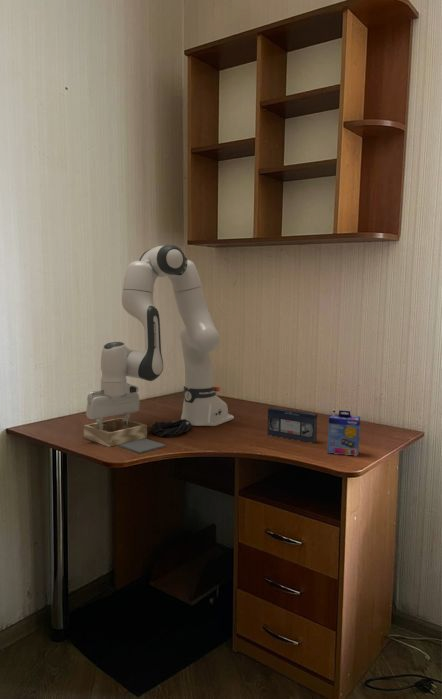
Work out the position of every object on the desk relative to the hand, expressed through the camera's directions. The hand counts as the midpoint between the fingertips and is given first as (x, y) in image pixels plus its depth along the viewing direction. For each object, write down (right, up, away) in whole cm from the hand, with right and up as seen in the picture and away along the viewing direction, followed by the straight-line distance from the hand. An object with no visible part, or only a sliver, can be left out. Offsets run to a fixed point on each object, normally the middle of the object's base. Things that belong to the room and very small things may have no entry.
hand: (113, 427), depth 192 cm
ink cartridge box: (+78, -7, -14) cm, 79 cm away
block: (+1, -4, 0) cm, 4 cm away
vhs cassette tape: (+63, -5, +2) cm, 63 cm away
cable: (+19, -3, +9) cm, 21 cm away
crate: (+1, -4, 0) cm, 4 cm away
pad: (+12, -5, -10) cm, 16 cm away
